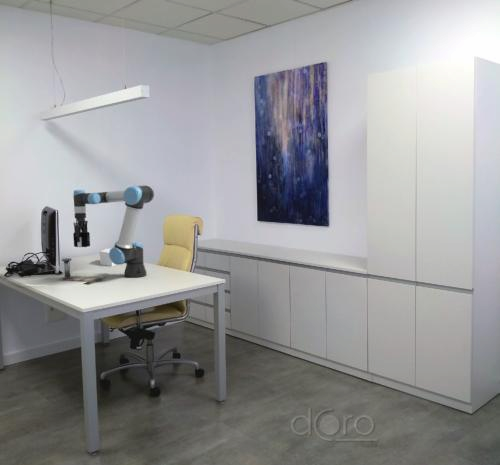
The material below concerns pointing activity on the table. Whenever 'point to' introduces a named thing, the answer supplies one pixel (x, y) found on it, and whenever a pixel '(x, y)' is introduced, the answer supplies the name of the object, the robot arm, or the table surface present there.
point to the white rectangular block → (105, 258)
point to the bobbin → (67, 268)
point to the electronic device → (83, 239)
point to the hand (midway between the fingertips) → (81, 246)
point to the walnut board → (83, 279)
